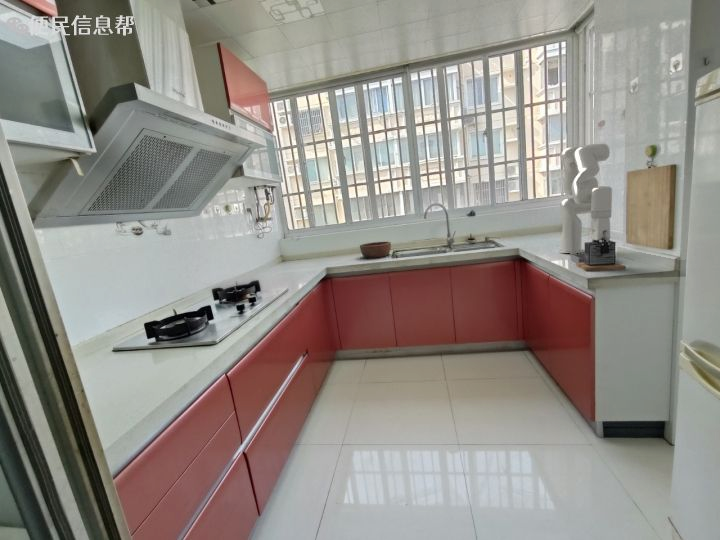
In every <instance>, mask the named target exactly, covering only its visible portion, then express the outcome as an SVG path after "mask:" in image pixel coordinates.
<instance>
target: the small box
mask: <svg viewBox="0 0 720 540" xmlns="http://www.w3.org/2000/svg"><path fill="white" fill-rule="evenodd" d="M603 242H604V241H603ZM616 242H617V241H613V240H610V242H609V243H610V244H609V254H600V245H601V242H600V241H599V242H592V241H589V242H584V250H585V252H584V254H585V264H586V265H588V266H598V265H615V264H616V263H615V256H616V245H617V244H616Z"/></svg>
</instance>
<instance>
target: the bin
mask: <svg viewBox="0 0 720 540" xmlns="http://www.w3.org/2000/svg"><path fill="white" fill-rule="evenodd" d="M570 259H571V260H570V261H572V262H573V261H574V262H573V263H575V262H576V264H577V263H580V262H585V253H578V254H570ZM615 262H617V256H616V255H615Z"/></svg>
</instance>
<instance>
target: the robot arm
mask: <svg viewBox="0 0 720 540" xmlns="http://www.w3.org/2000/svg"><path fill="white" fill-rule="evenodd" d="M609 157H610V147H609V145H608V144H606V143H603V142H602V143H592V144H591V143H590V144H585V145H578V146H577V145H576V146H570V147H567V148H564V149H563V151H561V154H560V159H561V164H562V166H563V170H564V179H563V180H564V181H563V182H564V183H563V191H564V194H565V195H566V196H572V197H570V198H565V199H563V200H562V201H561V202H560V213H561V223H562V224H561V226H562V227H561V229H562V230H561V232H562V233H561V236H562V237H561V242H562V243H561V245H562V246H561V247H562V248H561V249H559V250H558V252H560V253H559V254H563V253H570V254H569V255H571V254H577V253H578V254H584V253H585V249H582V233H583V232H582V230H583V229H582V227H583V223H582V219H580V217H578V215H584V214H590V220H591V221H590V228H589V229H590V230H589V238H590V239H591V242H599V241H600V242H601V245H600V254H609V244H610V243H609V242H610V241H611V240H610V239H611V218H612V206H613V205H612V204H613V188H612V187H611V186H608V185H607V186H606V185H605V186H604V185H602V186H599V181H598V178H596V176H597V175H598V173H599V172H600V166H599V162H605V161H607V160H608V158H609ZM603 241H604V242H603Z"/></svg>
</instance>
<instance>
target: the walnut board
mask: <svg viewBox="0 0 720 540" xmlns="http://www.w3.org/2000/svg"><path fill="white" fill-rule="evenodd" d="M615 263H616V264H615V265H598V266H588V265H586V264H585V262H580V263H576V267H578V268H580V269H582V270H583V271H585V272H596V271H597V272H602V271H601V270H605V271H621V270H622V271H623V269H626V267H627V266H626V265H624V264H621V263H619V262H617V261H616V262H615Z"/></svg>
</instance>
